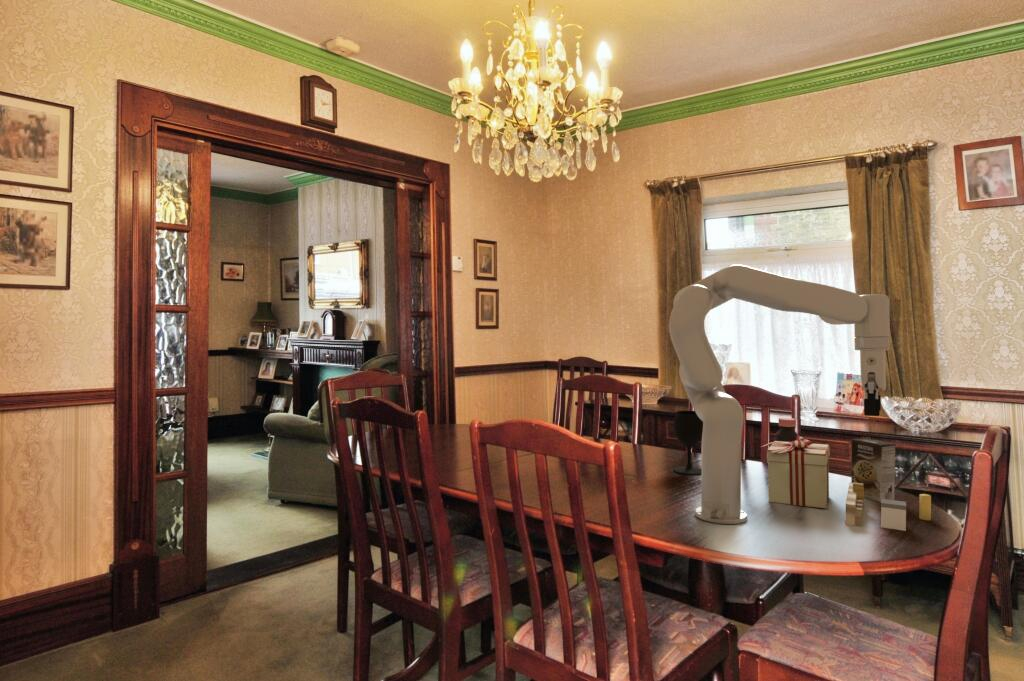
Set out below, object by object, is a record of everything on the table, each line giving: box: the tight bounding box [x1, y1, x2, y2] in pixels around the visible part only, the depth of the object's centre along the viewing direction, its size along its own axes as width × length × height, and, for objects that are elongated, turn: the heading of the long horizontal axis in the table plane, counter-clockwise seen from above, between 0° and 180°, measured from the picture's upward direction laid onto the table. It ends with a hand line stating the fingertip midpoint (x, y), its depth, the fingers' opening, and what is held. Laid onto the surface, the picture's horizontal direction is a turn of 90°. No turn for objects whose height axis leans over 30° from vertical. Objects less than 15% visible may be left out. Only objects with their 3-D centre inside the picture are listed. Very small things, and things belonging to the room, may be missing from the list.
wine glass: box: [672, 410, 703, 476], centre depth 202 cm, size 10×10×20 cm
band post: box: [918, 493, 932, 521], centre depth 151 cm, size 2×2×6 cm
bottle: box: [774, 417, 800, 442], centre depth 187 cm, size 7×7×20 cm
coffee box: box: [850, 437, 896, 503], centre depth 171 cm, size 9×6×16 cm
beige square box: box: [880, 499, 907, 532], centre depth 146 cm, size 4×5×6 cm
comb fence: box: [844, 482, 865, 527], centre depth 157 cm, size 24×4×7 cm, turn 148°
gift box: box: [759, 435, 831, 510], centre depth 169 cm, size 17×18×17 cm
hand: (872, 413), depth 149 cm, fingers open, 9 cm apart
